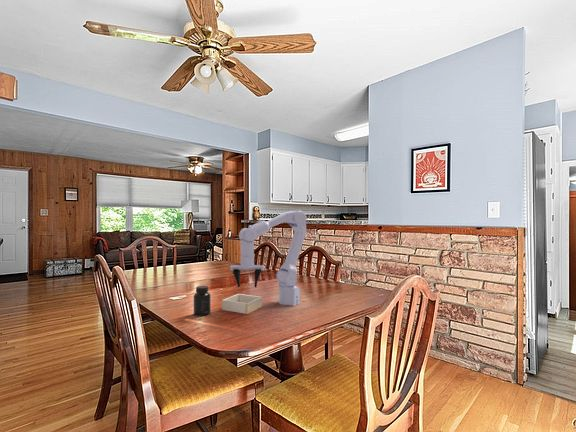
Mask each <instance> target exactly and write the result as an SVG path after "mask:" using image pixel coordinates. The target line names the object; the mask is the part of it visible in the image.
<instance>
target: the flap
mask: <svg viewBox="0 0 576 432" xmlns="http://www.w3.org/2000/svg"><path fill="white" fill-rule="evenodd" d="M259 297H260V298H257V299H255V300H253V301H251V302H249V303H246V315H248V314H251V313H252V312H255V311H256V310H258V309H260V308H262V307H263V296H259Z"/></svg>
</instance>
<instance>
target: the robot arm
mask: <svg viewBox="0 0 576 432" xmlns="http://www.w3.org/2000/svg"><path fill="white" fill-rule="evenodd" d="M307 219H308V217H307V216H306V214H305V212H304V211H303V210H288V211H285V212H284V211H283V212H282V213H280V214H278V215H276V216H275V217H272V218H271V219H269V220H267V221H266V220H262V219H260V220H257V222H256V223H254V224H252V225H251V224H250V225H248V228H247V227H243V228H241V230H240V231H239V234H238V238H239V240H240V264H233V265H232V264H231V265H230V266H229V267H230V269H229V270H230V271H232V274H233V275H234V278H235V280H236V284H237V288H240V287H241V271H254V288H257V286H258V281H259V278H260V275H261V273H262V271H265V265H264V264H263V265H261V264H260V265H259V264H255V245H254V243H255V242H254V241H255V240H256V239H257V238H258V237H260V236H262V235H264V234H266V233H269V231H270V229H271V228H273V227H275V226H278V225H279V224H283V223H287V224H288V225H289V226H290V227H291V228H292V230H293V231H294V232H293V235H292V238H291V241H290V245H289V247H288V251H287V254H286V258H285V259H284V260H285V261H284V262H283V264H282V265H281V266H280V267H279V270H278V271H277V272H276V275H275V276H276V280H277V282H278V304H279V305H282V306H292V307H295V306H297V305H298V304H300V303H301V299H300V298H301V296H300V295H301V290H300V287H299V286H296V283H297V281H298V270H297V263H298V260H299V258H300V253H301V252H302V251H301V250H302V247H303V244H304V240H305V238H306V234H307V221H308V220H307Z"/></svg>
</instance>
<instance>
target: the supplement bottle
mask: <svg viewBox="0 0 576 432" xmlns="http://www.w3.org/2000/svg"><path fill="white" fill-rule="evenodd" d="M211 311H212V310H211V293H210V292H209V286H208V285H199V286H198V285H197V286H196V287H195V293H194V294H193V316H194V317H206V316H208V315H210V314H211V313H212V312H211Z"/></svg>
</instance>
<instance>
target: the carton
mask: <svg viewBox="0 0 576 432" xmlns="http://www.w3.org/2000/svg"><path fill="white" fill-rule="evenodd" d="M260 297H261V296H259V295H258V296H257V295H250V294H243V293H237V294H234V295H231V296H229V297H227V298H223V299H222V300H221V310H222V311H225V312H226V311H227V312H234V313H237V314H246V303H249V302H251V301H253V300H255V299H257V298H260ZM246 315H247V314H246Z"/></svg>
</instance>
